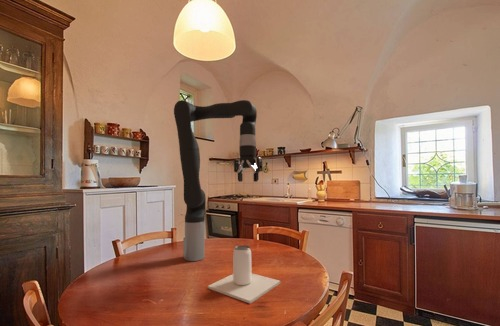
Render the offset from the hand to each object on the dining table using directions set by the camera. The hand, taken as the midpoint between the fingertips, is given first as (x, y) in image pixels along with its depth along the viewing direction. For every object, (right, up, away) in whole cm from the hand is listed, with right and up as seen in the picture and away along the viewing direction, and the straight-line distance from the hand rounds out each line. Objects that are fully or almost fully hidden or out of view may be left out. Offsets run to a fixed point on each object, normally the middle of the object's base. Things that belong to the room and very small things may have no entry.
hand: (247, 181), depth 110 cm
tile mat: (-1, -35, -24) cm, 42 cm away
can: (-2, -34, -23) cm, 41 cm away
